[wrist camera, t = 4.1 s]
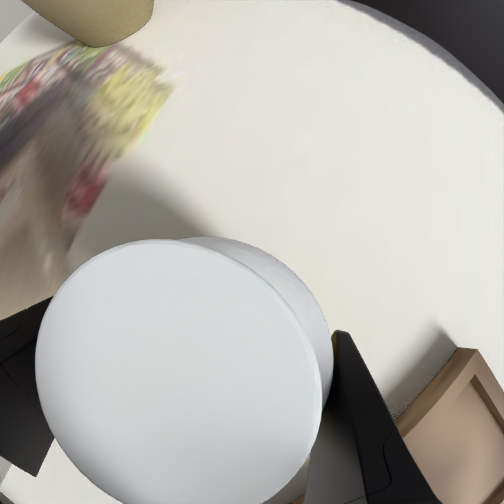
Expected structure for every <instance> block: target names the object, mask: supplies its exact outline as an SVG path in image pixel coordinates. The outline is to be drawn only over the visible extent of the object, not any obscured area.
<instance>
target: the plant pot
mask: <svg viewBox="0 0 504 504" xmlns="http://www.w3.org/2000/svg"><path fill="white" fill-rule="evenodd" d="M21 1H23V2H24V3H25V4H26V5H28V6H29V7H30V8H32V9H33V10H34V11H36V12H37V13H38V14H40V15H41V16H43V17H44V18H45V19H47V20H48V21H50V22H51V23H53V24H54V25H56V26H57V27H59V28H60V29H62V30H63V31H65V32H67V33H68V34H70V35H71V36H73V37H75V38H76V39H78V40H80V41H81V42H83V43H85V44H87V45H88V46H91V47H102V46H106V45H110V44H113V43H115V42H118V41H120V40H122V39H124V38H126V37H128V36H130V35H131V34H133V33H134V32H136V31H137V30H139V29H140V28H141V27H143V26H144V25H145V24H146V23H147V22H148V20H149V19H150V18H151V16H152V12H153V5H154V0H21Z"/></svg>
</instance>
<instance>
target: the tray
mask: <svg viewBox="0 0 504 504" xmlns="http://www.w3.org/2000/svg"><path fill="white" fill-rule="evenodd" d="M394 422H395V426H397V428H398V430H399V432H400V434H401V436H402V438H403V440H404V442H405V444H406V446H407V448H408V450H409V452H410V453H411V455H412V457H413V459H414V460H415V462H416V464H417V465H418V467H419V469H420V470H421V472H422V474H423V475H424V477H425V479H426V480H427V482H428V484H429V485H430V487H431V489H432V490H433V492H434V494H435V495H436V496H437V498H438V499H439V500H440V501H441V502H442V503H443V504H504V392H503V390H502V388H501V386H500V385H499V383H498V381H497V380H496V378H495V376H494V375H493V373H492V371H491V370H490V368H489V366H488V365H487V363H486V362H485V360H484V359H483V357H482V355H481V354H480V352H479V351H478V349H470V348H460V347H458V348H457V350H456V351H455V352H454V354H453V355H452V356H451V358H450V359H449V360H448V362H447V363H446V364H445V365H444V367H443V368H442V369H441V370H440V372H439V373H438V374H437V375H436V377H435V378H434V379H433V380H432V381H431V383H430V384H429V385H428V386H427V387H426V388H425V389H424V391H423V392H422V393H421V394H420V395H419V396H418V397H417V398H416V400H415V401H414V402H413V403H412V404H411V405H410V406H409V407H408V408H407V409H406V410H405V411H404V412H403V413H402V414H401V415H400V416H399V417H398V418H397V419H396V420H395V421H394ZM304 499H305V495H303V496H302V497H300V498H298V499H297V500H295V501H294V502H292V503H291V504H304Z"/></svg>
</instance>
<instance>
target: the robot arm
mask: <svg viewBox="0 0 504 504" xmlns="http://www.w3.org/2000/svg"><path fill="white" fill-rule="evenodd" d="M53 297H54V296H52V297H50V298H48V299H46V300H44V301H41V302H39V303H37V304H35V305H33V306H31V307H29V308H28V309H25V310H23V311H20V312H18V313H16V314H14V315H12V316H10V317H8V318H6V319H3V320H1V321H0V486H1V484H2V482H3V480H4V478H5V476H6V474H7V472H8V471H9V469H10V467H11V465H12V464H14V465H15V466H17V467H18V468H20V469H22V470H23V471H25V472H27V473H29V474H30V475H32V476H34V477H36V476H37V474H38V472H39V470H40V468H41V465H42V463H43V461H44V459H45V457H46V454H47V452H48V450H49V448H50V446H51V444H52V442H53V440H54V438H55V437H54V435H53V433H52V431H51V429H50V428H49V425H48V423H47V420H46V418H45V415H44V413H43V410H42V407H41V403H40V399H39V395H38V389H37V384H36V372H35V353H36V344H37V339H38V333H39V329H40V326H41V323H42V320H43V317H44V315H45V312H46V310H47V308H48V306H49V304H50V302H51V300H52V298H53ZM331 342H332V348H333V376H332V383H331V388H330V392H329V395H328V398H327V401H326V404H325V406H324V408H323V411H322V413H321V421H320V425H319V429H318V433H317V436H316V440H315V442H314V444H313V446H312V448H311V453H310V462H309V470H308V478H307V485H306V492H305V499H304V504H443V503H442V502H441V501H440V500H439V499H438V498H437V496H436V495H435V494H434V492H433V490H432V489H431V487H430V485H429V484H428V482H427V480H426V479H425V477H424V475H423V474H422V472H421V470H420V469H419V467H418V465H417V464H416V462H415V460H414V459H413V457H412V455H411V453H410V452H409V450H408V448H407V446H406V444H405V442H404V440H403V438H402V436H401V434H400V432H399V430H398V428H397V426H395V422H394V420H393V418H392V416H391V414H390V412H389V409H388V407H387V405H386V403H385V401H384V399H383V397H382V395H381V393H380V391H379V389H378V387H377V385H376V384H375V382H374V380H373V378H372V376H371V374H370V372H369V370H368V368H367V366H366V364H365V362H364V360H363V358H362V356H361V355H360V353H359V351H358V349H357V347H356V345H355V343H354V341H353V340H352V338H351V336H350V334H349V333H348V332H345V331H340V330H335V331H334V333H333V334H332V336H331ZM0 504H14V503H13V502H12V501H11V500H9V499H8V498H7V497H6V496H5V495H4V494H2V493H1V492H0Z"/></svg>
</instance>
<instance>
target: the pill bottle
mask: <svg viewBox="0 0 504 504" xmlns="http://www.w3.org/2000/svg"><path fill="white" fill-rule="evenodd" d="M35 372H36V384H37V389H38V395H39V399H40V403H41V407H42V410H43V413H44V415H45V418H46V420H47V423H48V425H49V428H50V429H51V431H52V433H53V435H54V437H55V438H56V440H57V442H58V443H59V445H60V447H61V448H62V449H63V451H64V452H65V454H66V455H67V456H68V458H69V459H70V460H71V461H72V463H73V464H74V465H75V466H76V467H77V468H78V470H79V471H80V472H81V473H82V474H83V475H85V476H86V477H87V478H88V479H89V480H90V481H91V482H92V483H93V484H94V485H96V486H97V487H98V488H100V489H101V490H103V491H104V492H105V493H107V494H108V495H110V496H112V497H113V498H115V499H116V500H118V501H120V502H122V503H124V504H262V503H263V502H265V501H267V500H268V499H270V498H271V497H272V496H274V495H275V494H276V493H277V492H279V491H280V490H281V489H282V488H283V487H284V486H285V485H286V484H287V483H288V482H289V481H290V480H291V479H292V478H293V477H294V476H295V474H296V473H297V472H298V470H299V469H300V468H301V467H302V465H303V464H304V462H305V460H306V459H307V457H308V455H309V453H310V451H311V448H312V446H313V444H314V442H315V440H316V436H317V433H318V429H319V425H320V421H321V413H322V411H323V408H324V406H325V404H326V401H327V398H328V395H329V392H330V388H331V383H332V376H333V348H332V342H331V336H330V333H329V329H328V326H327V322H326V320H325V317H324V315H323V312H322V310H321V308H320V306H319V304H318V303H317V301H316V299H315V297H314V296H313V294H312V293H311V291H310V290H309V289H308V287H307V286H306V285H305V283H304V282H303V281H302V280H301V279H300V278H299V277H298V276H297V275H296V274H295V273H294V272H293V271H292V270H291V269H290V268H288V267H287V266H286V265H285V264H284V263H282V262H281V261H279V260H278V259H276V258H275V257H273V256H272V255H270V254H268V253H266V252H264V251H263V250H261V249H259V248H256V247H254V246H251V245H249V244H246V243H243V242H239V241H236V240H231V239H226V238H218V237H191V238H184V239H179V240H174V239H145V240H139V241H134V242H128V243H125V244H122V245H118V246H115V247H112V248H110V249H107V250H105V251H103V252H101V253H99V254H97V255H95V256H94V257H92V258H91V259H89V260H88V261H86V262H85V263H84V264H82V265H81V266H80V267H78V268H77V269H76V270H75V271H74V272H73V273H72V274H71V275H70V276H69V277H68V278H67V279H66V280H65V281H64V283H63V284H62V285H61V286H60V287H59V289H58V290H57V292H56V294H55V295H54V297H53V298H52V300H51V302H50V304H49V306H48V308H47V310H46V312H45V315H44V317H43V320H42V323H41V326H40V329H39V333H38V339H37V344H36V353H35Z"/></svg>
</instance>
